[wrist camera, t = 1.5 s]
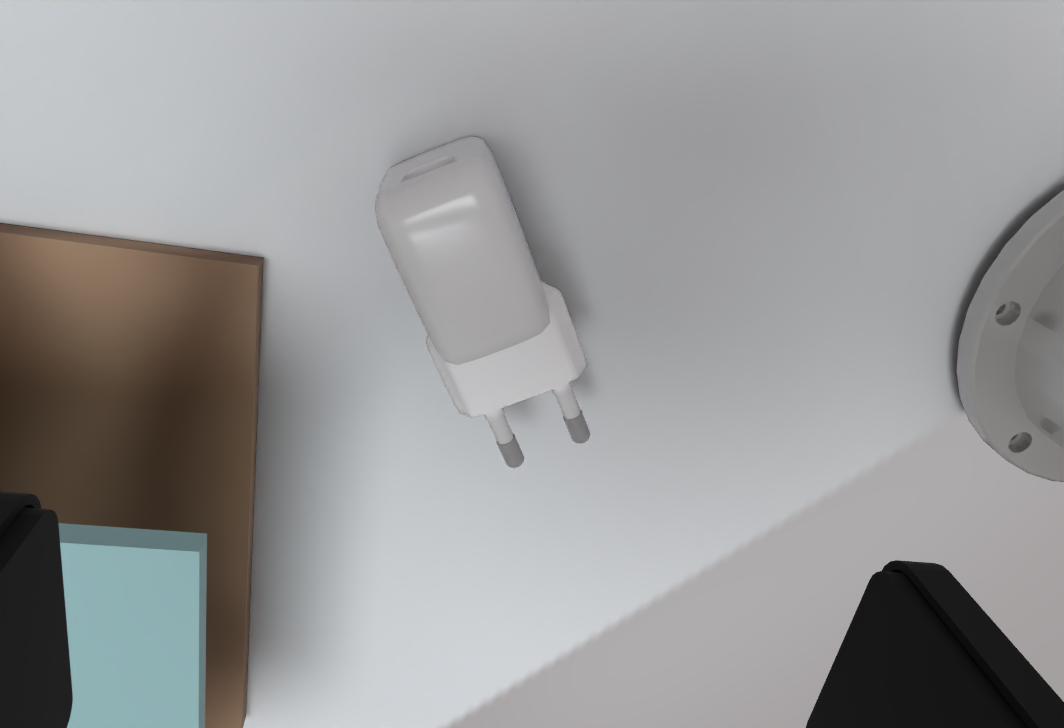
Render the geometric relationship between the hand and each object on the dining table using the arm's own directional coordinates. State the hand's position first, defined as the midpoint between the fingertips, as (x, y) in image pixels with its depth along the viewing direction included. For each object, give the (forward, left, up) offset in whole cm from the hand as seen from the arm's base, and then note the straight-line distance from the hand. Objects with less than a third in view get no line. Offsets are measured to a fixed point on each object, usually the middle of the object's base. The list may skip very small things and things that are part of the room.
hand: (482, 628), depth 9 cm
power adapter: (-1, +2, -18) cm, 18 cm away
